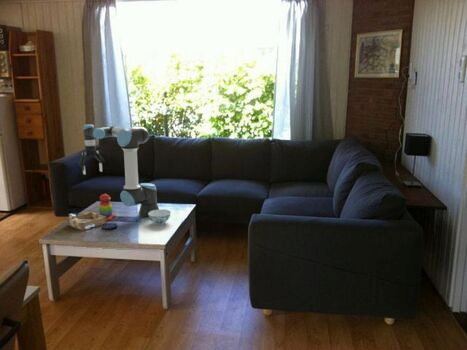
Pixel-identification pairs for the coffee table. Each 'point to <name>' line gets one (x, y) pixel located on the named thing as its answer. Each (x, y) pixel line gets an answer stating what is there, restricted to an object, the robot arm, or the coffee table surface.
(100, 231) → the coffee table surface
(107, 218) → the stacking bear
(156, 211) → the chinaware
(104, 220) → the crate
